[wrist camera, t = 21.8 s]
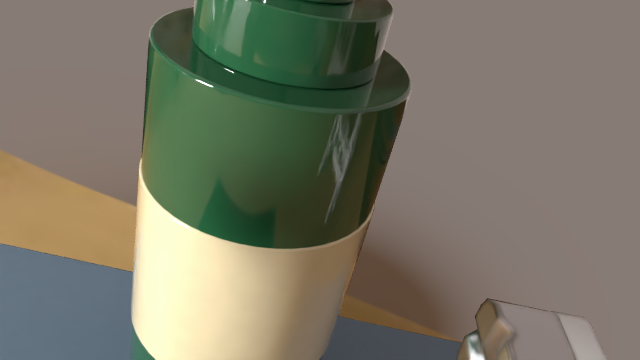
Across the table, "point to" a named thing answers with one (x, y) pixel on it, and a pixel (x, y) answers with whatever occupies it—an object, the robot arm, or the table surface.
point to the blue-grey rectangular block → (115, 317)
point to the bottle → (259, 174)
